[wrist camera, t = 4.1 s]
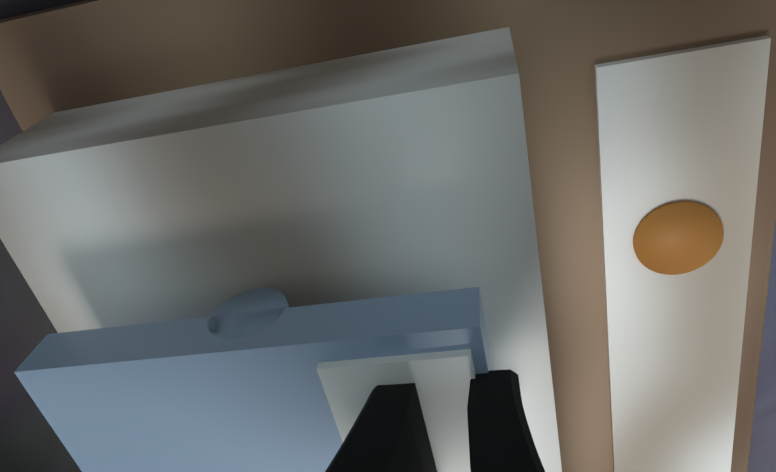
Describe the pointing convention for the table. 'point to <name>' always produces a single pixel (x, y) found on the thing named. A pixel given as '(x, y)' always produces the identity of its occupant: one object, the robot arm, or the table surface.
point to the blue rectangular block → (258, 382)
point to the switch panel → (424, 187)
